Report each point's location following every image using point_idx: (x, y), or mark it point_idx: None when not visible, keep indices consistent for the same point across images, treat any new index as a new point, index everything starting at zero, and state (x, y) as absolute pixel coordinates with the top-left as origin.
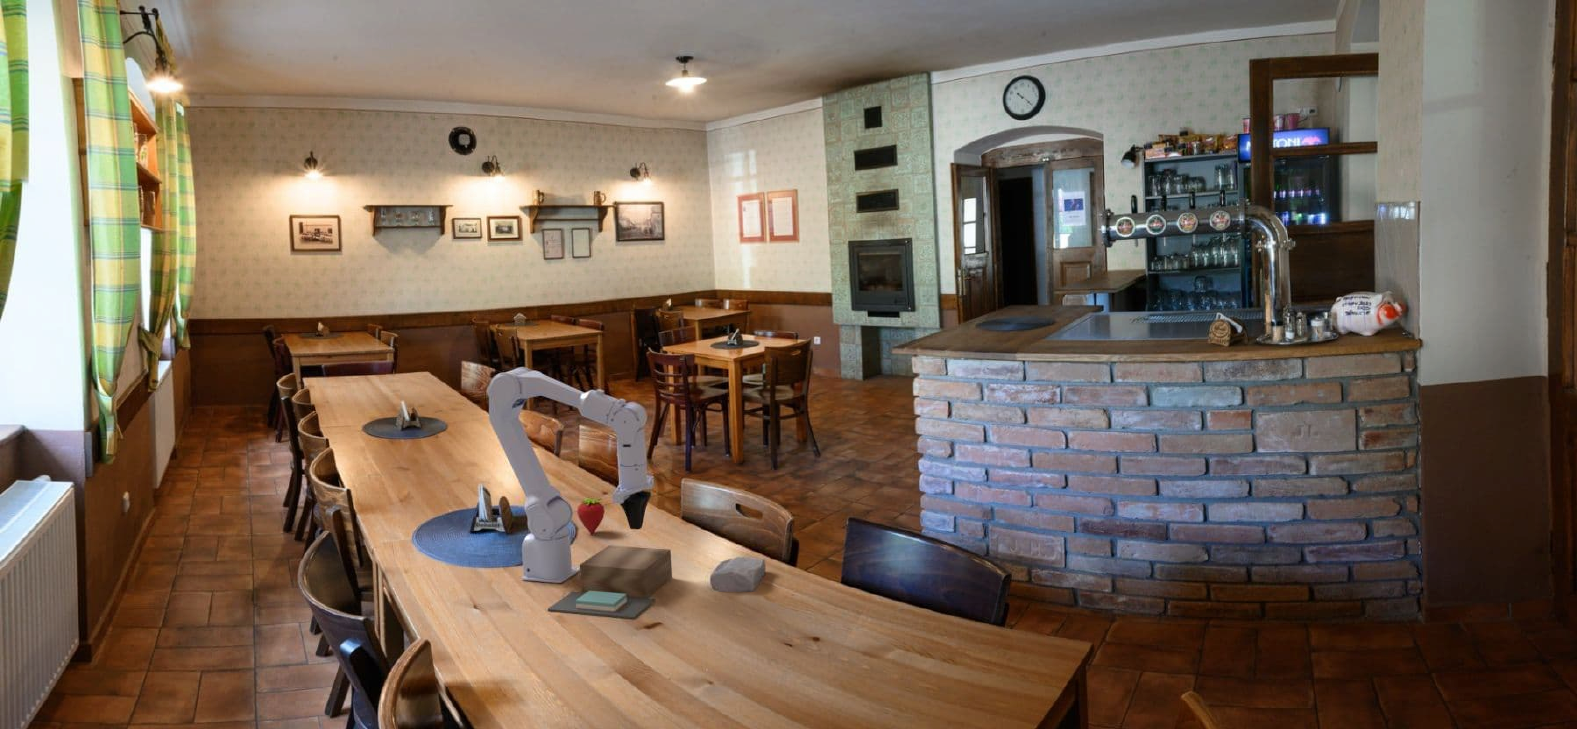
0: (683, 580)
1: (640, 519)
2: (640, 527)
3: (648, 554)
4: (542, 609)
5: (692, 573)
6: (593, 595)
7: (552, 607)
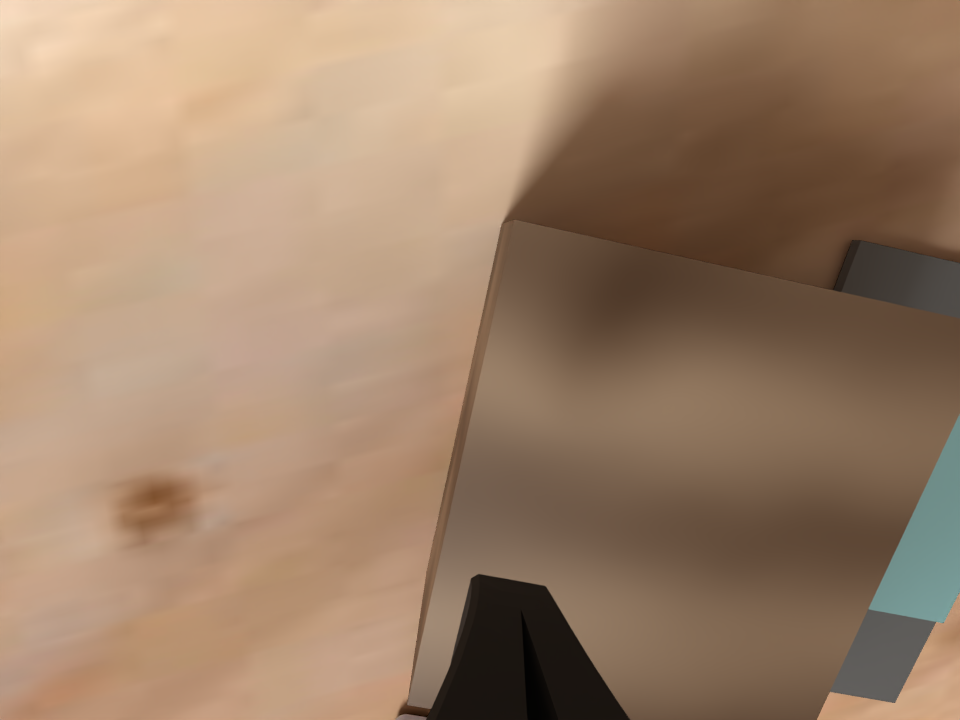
0: (542, 141)
1: (578, 667)
2: (523, 587)
3: (630, 382)
4: (864, 717)
5: (420, 106)
6: (894, 561)
7: (884, 689)
